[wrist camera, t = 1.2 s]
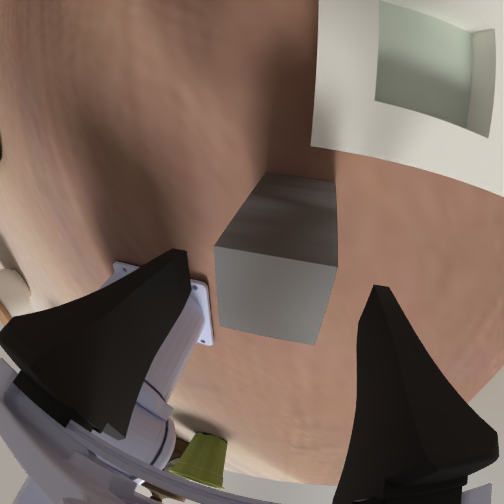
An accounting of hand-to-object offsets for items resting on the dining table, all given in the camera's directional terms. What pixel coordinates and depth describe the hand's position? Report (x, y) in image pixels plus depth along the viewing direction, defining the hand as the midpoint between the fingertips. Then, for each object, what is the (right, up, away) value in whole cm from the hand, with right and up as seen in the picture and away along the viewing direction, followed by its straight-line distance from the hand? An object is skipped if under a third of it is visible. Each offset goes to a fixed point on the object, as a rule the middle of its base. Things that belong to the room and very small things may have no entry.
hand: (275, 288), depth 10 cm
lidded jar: (-42, -4, +26) cm, 50 cm away
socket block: (+8, +11, -1) cm, 14 cm away
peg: (+2, +4, +6) cm, 7 cm away
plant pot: (-9, -39, +39) cm, 56 cm away
